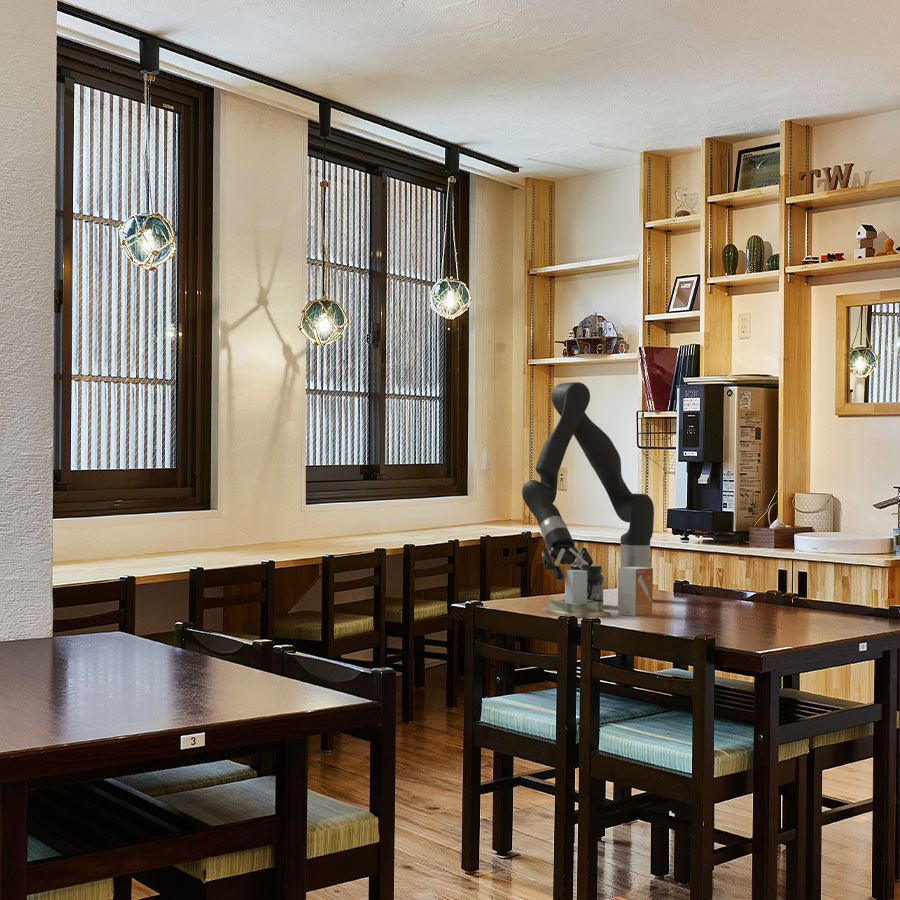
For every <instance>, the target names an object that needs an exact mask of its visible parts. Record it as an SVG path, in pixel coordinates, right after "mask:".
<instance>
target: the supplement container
mask: <svg viewBox="0 0 900 900" xmlns="http://www.w3.org/2000/svg"><path fill="white" fill-rule="evenodd" d="M581 564H582V563H581ZM582 565H583V564H582ZM569 570H582V569H580V568H579V567H576V566H574V565H573V564H569ZM590 571H591V573H592V575H591V577H590V579H589V580H587V600H592V601H597V602H601V603H603V604H604V580H605V578H604V575H603V574H602V572H603V566H602V565H601V564H594V563H593V564H592V565H591V567H590Z"/></svg>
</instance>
